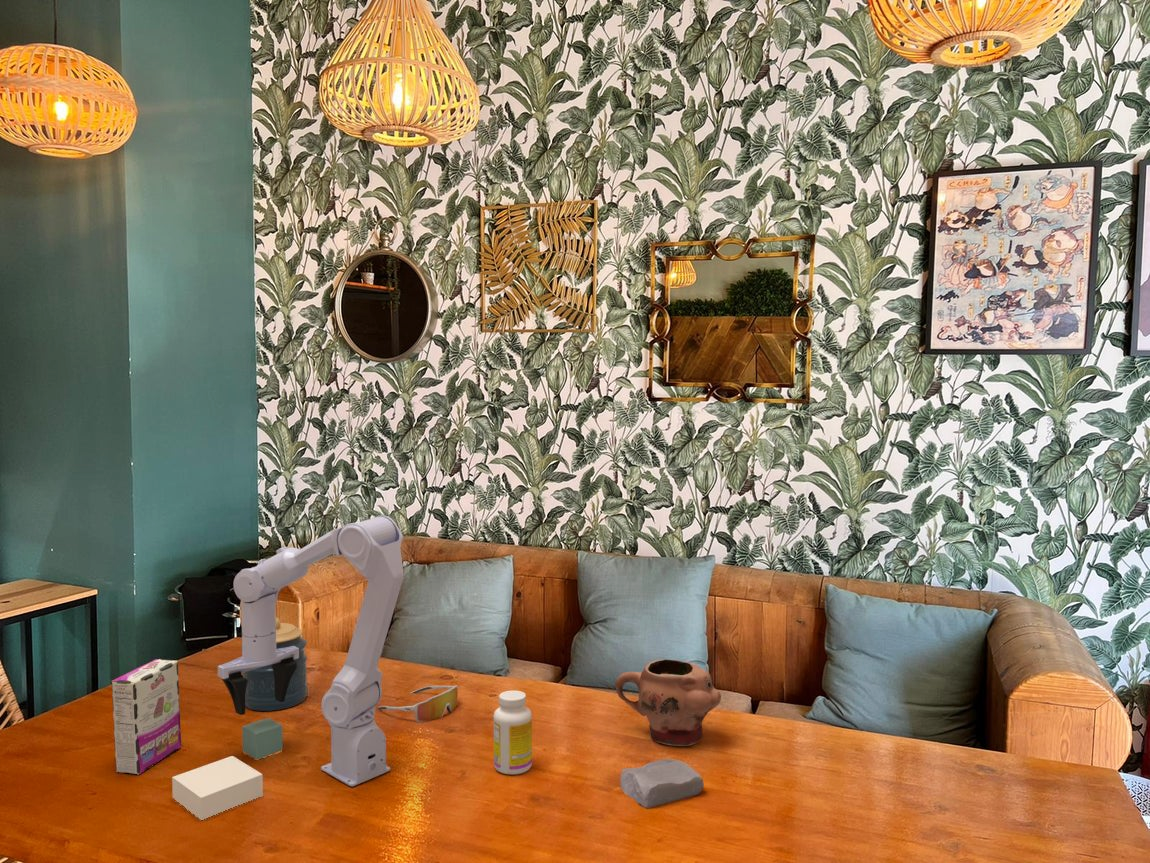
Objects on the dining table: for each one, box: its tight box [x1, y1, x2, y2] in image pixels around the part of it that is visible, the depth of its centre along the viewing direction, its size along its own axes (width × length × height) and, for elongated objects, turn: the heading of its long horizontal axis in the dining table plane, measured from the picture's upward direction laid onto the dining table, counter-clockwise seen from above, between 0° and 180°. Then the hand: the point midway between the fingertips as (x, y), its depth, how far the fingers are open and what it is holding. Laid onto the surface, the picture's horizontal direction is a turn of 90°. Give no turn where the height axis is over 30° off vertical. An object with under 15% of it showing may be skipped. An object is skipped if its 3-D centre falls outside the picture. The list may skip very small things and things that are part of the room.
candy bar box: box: [111, 658, 182, 776], centre depth 146 cm, size 11×5×16 cm, turn 168°
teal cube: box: [241, 717, 284, 760], centre depth 149 cm, size 5×5×5 cm
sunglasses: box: [377, 685, 459, 723], centre depth 170 cm, size 14×15×5 cm
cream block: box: [171, 755, 264, 821], centre depth 133 cm, size 10×10×4 cm
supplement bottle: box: [493, 690, 533, 776], centre depth 144 cm, size 7×7×13 cm
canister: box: [240, 617, 308, 712], centre depth 173 cm, size 13×13×18 cm
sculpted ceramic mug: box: [614, 658, 722, 747], centre depth 156 cm, size 20×12×14 cm, turn 80°
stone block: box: [620, 758, 704, 809], centre depth 136 cm, size 12×5×10 cm
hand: (260, 706), depth 149 cm, fingers open, 7 cm apart
